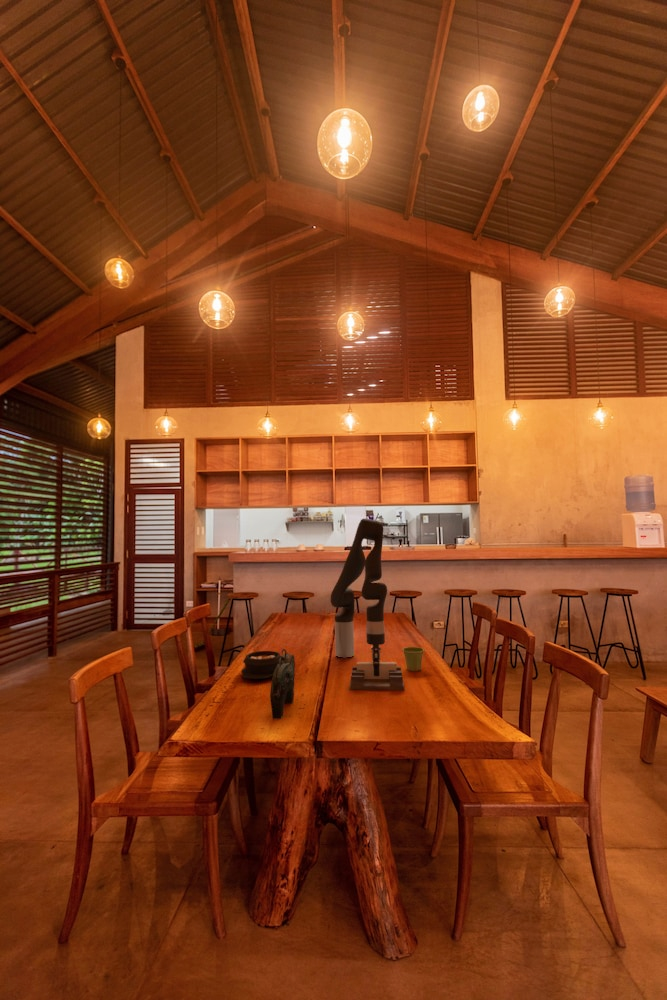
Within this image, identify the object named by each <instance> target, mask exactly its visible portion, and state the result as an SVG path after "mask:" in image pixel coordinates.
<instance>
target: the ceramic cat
mask: <svg viewBox="0 0 667 1000" xmlns="http://www.w3.org/2000/svg"><path fill="white" fill-rule="evenodd" d="M283 653H284V654H283ZM295 668H296V660H295V656H294V654H289V653H288V652H287V650H286V649H285V648H282V649H281V655H280V660H279V663H278V665H277V667H276V669H275V670H274V673H273V676H272V679H271V685H270V693H269V698H270V708H271V713H272V714H271V716H272V719H275V718H277V719H278V718H279V720H280V719H282V718H281V717H283V715H284V707H285V704H292V703H293V701H294V698H295V696H294V695H295V693H294V692H295V690H294V689H295V678H296V677H295V676H296V673H295V671H296V670H295ZM284 702H285V703H284Z"/></svg>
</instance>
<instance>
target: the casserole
mask: <svg viewBox="0 0 667 1000" xmlns="http://www.w3.org/2000/svg"><path fill="white" fill-rule="evenodd" d="M280 656H281V654H280V652H277V651H273V650H272V651H271V650H260V651H253V652H250V653H247V654H246V655H245V657H244V659H243V660H242V661H243V664H244V668H243V669H242V670H241V672H240V673H242V675H241V677H242V678H243V679H247V680H248V679H249V680H263V679H264V680H265V679H269V678H271V677H273V673H274V670H275V669H276V667H277V665H278V663H279V660H280Z"/></svg>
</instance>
